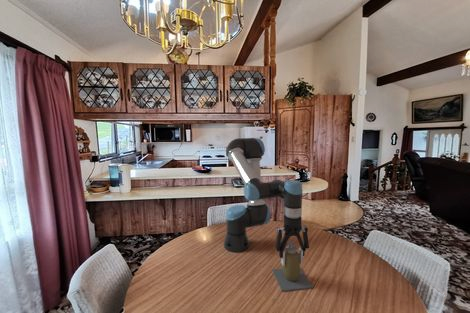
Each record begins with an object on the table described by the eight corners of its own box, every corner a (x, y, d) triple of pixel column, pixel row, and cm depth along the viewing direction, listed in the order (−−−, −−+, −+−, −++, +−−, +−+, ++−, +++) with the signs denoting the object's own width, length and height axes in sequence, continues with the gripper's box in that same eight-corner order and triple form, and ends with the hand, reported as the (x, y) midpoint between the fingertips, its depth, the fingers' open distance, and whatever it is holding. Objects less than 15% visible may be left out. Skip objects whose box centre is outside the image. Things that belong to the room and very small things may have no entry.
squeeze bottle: (300, 273, 101) (300, 237, 99) (300, 284, 93) (300, 245, 91) (283, 270, 103) (283, 235, 102) (281, 281, 96) (280, 243, 94)
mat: (282, 291, 90) (282, 290, 90) (272, 270, 104) (272, 269, 104) (313, 288, 92) (313, 286, 92) (299, 267, 106) (299, 266, 106)
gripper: (273, 220, 90) (272, 270, 92) (318, 217, 93) (317, 266, 95) (267, 213, 97) (267, 260, 100) (310, 211, 100) (309, 256, 102)
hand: (291, 263), depth 97 cm, fingers open, 8 cm apart
